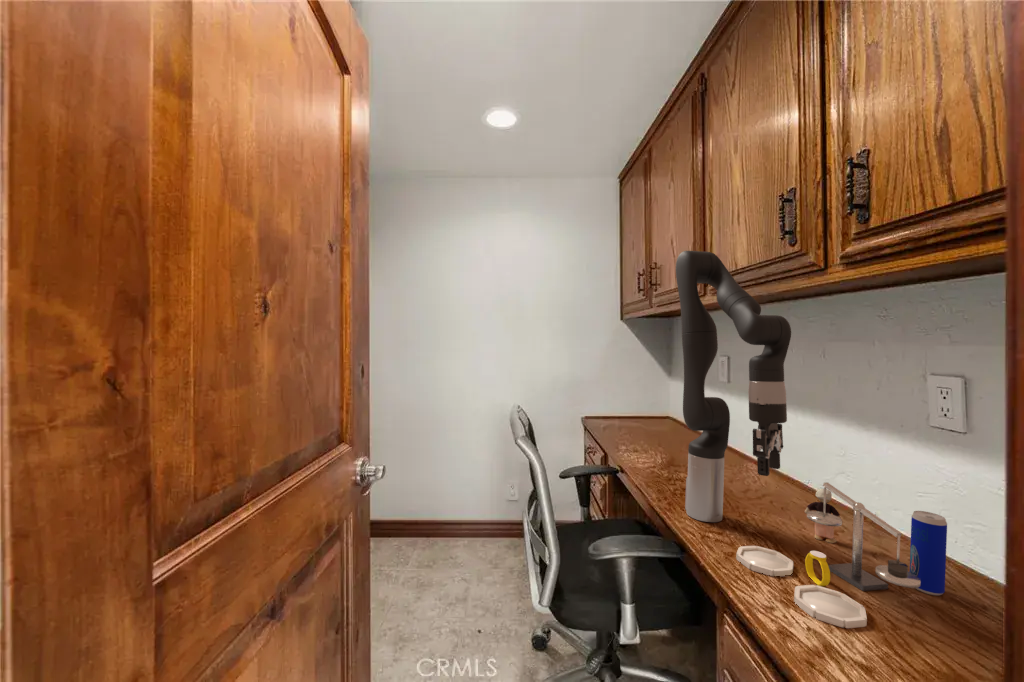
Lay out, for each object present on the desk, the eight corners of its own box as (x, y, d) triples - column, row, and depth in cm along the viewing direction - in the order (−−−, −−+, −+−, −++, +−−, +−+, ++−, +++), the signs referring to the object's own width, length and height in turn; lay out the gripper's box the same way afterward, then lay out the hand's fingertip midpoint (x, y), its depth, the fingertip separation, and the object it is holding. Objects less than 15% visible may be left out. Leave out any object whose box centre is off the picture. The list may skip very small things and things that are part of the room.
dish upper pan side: (726, 552, 100) (727, 547, 100) (767, 549, 101) (767, 544, 101) (760, 577, 89) (760, 572, 89) (805, 574, 91) (805, 568, 91)
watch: (833, 592, 85) (835, 563, 85) (818, 591, 86) (821, 562, 85) (814, 573, 91) (816, 546, 91) (800, 572, 91) (802, 545, 91)
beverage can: (908, 578, 90) (910, 508, 90) (942, 588, 87) (945, 514, 87) (910, 589, 86) (912, 515, 86) (946, 600, 83) (949, 523, 83)
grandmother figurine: (840, 540, 107) (842, 489, 107) (842, 546, 104) (843, 494, 104) (803, 531, 112) (805, 483, 112) (803, 537, 109) (805, 487, 109)
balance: (798, 552, 100) (801, 478, 100) (822, 551, 101) (825, 477, 101) (900, 614, 78) (903, 518, 78) (929, 611, 79) (932, 517, 79)
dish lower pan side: (780, 593, 84) (781, 587, 84) (827, 589, 86) (828, 583, 86) (829, 630, 73) (829, 623, 73) (881, 624, 75) (882, 618, 75)
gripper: (758, 398, 107) (760, 463, 106) (739, 401, 97) (741, 474, 96) (793, 400, 102) (796, 469, 101) (776, 404, 92) (779, 481, 91)
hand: (769, 471), depth 99 cm, fingers open, 8 cm apart
